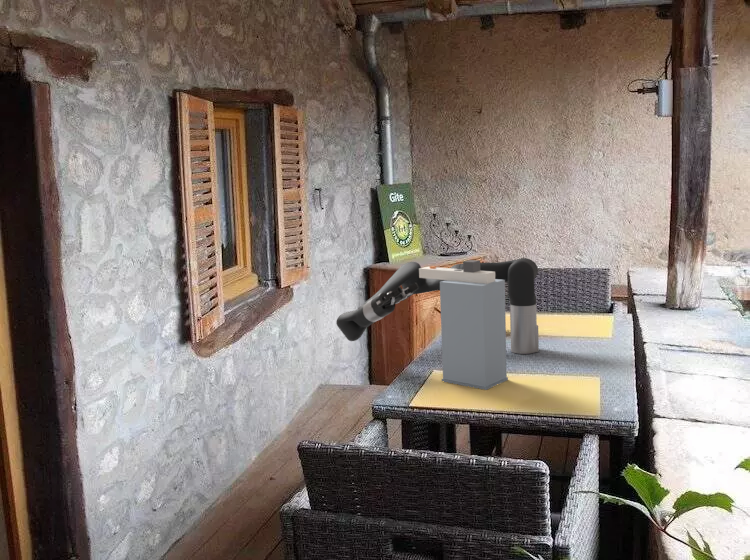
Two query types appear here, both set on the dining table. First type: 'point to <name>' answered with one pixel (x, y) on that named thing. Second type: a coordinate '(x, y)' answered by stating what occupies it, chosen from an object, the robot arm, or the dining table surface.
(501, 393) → the dining table surface
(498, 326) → the post
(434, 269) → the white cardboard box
